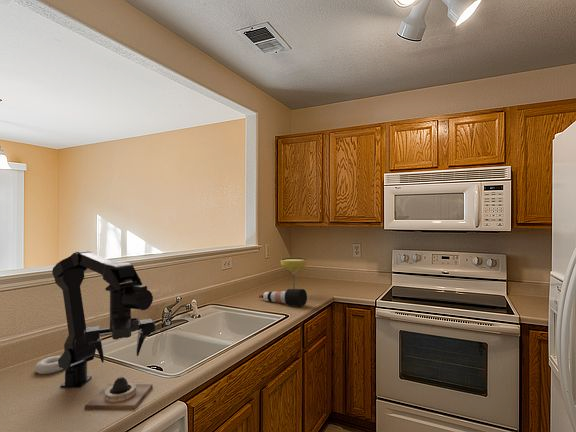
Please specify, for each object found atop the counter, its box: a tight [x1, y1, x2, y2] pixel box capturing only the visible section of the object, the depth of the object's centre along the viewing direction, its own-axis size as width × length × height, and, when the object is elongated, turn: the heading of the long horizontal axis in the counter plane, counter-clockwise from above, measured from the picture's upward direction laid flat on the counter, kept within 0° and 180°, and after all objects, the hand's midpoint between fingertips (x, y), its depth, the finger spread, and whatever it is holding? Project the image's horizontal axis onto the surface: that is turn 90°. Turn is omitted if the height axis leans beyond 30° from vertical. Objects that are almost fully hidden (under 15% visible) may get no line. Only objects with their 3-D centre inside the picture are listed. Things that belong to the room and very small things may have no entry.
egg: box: [113, 376, 129, 394], centre depth 99 cm, size 4×4×5 cm
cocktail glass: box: [280, 257, 308, 289], centre depth 232 cm, size 18×18×25 cm
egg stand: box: [84, 381, 153, 410], centre depth 99 cm, size 12×14×2 cm
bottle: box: [258, 288, 308, 307], centre depth 210 cm, size 10×34×10 cm, turn 56°
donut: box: [34, 355, 64, 375], centre depth 118 cm, size 10×4×10 cm
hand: (120, 358), depth 99 cm, fingers open, 9 cm apart
